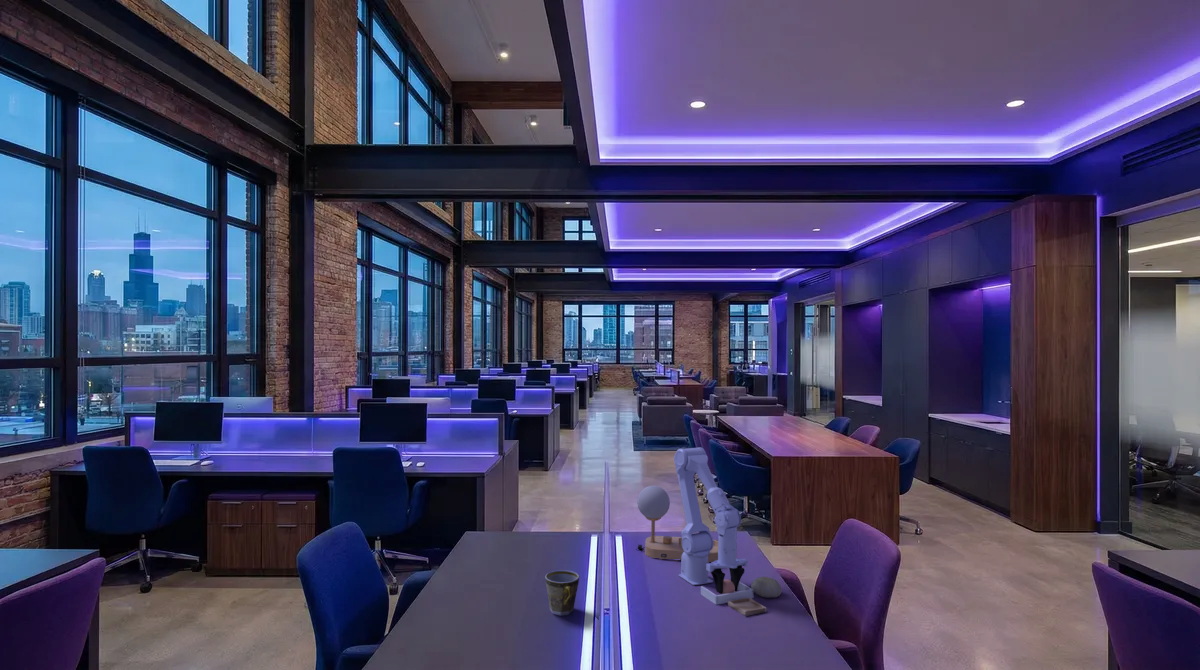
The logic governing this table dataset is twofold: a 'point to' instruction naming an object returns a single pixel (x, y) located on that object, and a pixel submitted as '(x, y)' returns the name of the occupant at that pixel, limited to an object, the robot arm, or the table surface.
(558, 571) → the ceramic cup
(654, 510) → the lamp
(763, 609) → the tray
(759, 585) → the sea urchin shell
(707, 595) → the white u-shaped arch
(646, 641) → the table surface
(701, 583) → the robot arm
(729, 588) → the ball
